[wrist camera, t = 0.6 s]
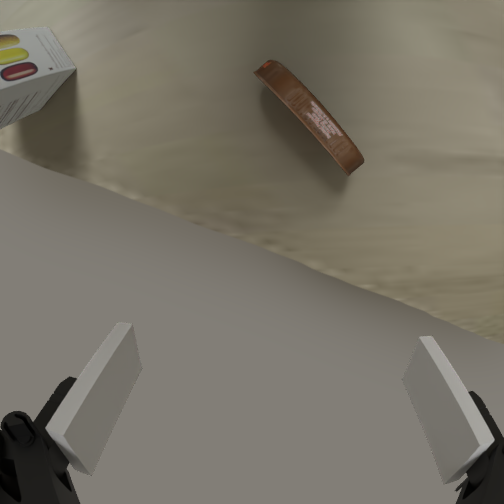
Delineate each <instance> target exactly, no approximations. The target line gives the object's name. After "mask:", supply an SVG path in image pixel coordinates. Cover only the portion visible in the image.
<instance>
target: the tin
mask: <svg viewBox="0 0 504 504" xmlns="http://www.w3.org/2000/svg"><path fill="white" fill-rule="evenodd" d="M253 73H254V74H255V75H256V76H257V77H258V78H259V79H260V80H261V81H262V82H263V83H264V84H265V85H266V86H267V87H268V88H269V89H270V90H271V91H272V92H273V93H274V94H275V95H276V96H277V97H278V98H279V99H280V100H281V101H282V102H283V103H284V104H285V105H286V106H287V107H288V108H289V109H290V110H291V112H292V113H293V114H294V115H295V116H296V117H297V118H298V119H299V120H300V121H301V122H302V123H303V124H304V125H305V126H306V128H307V129H308V130H309V131H310V132H311V133H312V134H313V135H314V136H315V138H316V139H317V140H318V141H319V142H320V143H321V144H322V146H323V147H324V148H325V149H326V150H327V151H328V153H329V154H330V155H331V156H332V157H333V158H334V160H335V161H336V162H337V163H338V164H339V166H340V167H341V168H342V169H343V170H344V171H345V173H346V174H347V175H348V176H350V174H351V173H352V172H353V171H354V170H356V169H357V168H358V167H359V166H361V165H362V164H363V163H364V158H363V156H362V154H361V153H360V151H359V150H358V149H357V147H356V146H355V144H354V143H353V142H352V140H351V139H350V138H349V137H348V135H347V134H346V133H345V132H344V130H343V129H342V128H341V127H340V125H339V124H338V123H337V122H336V120H335V119H334V118H333V117H332V116H331V114H330V113H329V112H328V111H327V110H326V109H325V108H324V106H323V105H322V104H321V103H320V102H319V101H318V100H317V99H316V98H315V97H314V95H313V94H312V93H311V92H310V91H309V90H308V89H307V88H306V87H305V86H304V85H303V84H302V83H301V82H300V81H299V80H298V79H297V78H296V77H295V76H294V75H293V74H292V73H291V72H290V71H289V70H288V69H286V68H285V67H284V66H283V65H282V64H280V63H279V62H277V61H274V60H269V61H267V62H266V63H265V64H264V65H263V66H261V67H260V68H259V69H258V70H257V71H254V72H253Z"/></svg>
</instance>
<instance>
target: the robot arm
mask: <svg viewBox="0 0 504 504" xmlns="http://www.w3.org/2000/svg"><path fill="white" fill-rule="evenodd" d="M141 370H142V366H141V362H140V357H139V353H138V348H137V344H136V339H135V334H134V328H133V325H132V324H129V323H122V322H117V324H116V325H115V327H114V328H113V329H112V331H111V332H110V334H109V335H108V336H107V337H106V339H105V340H104V342H103V343H102V344H101V346H100V347H99V349H98V350H97V351H96V353H95V354H94V356H93V357H92V358H91V360H90V361H89V363H88V364H87V366H86V367H85V368H84V370H83V371H82V373H81V374H80V376H79V377H78V379H77V378H73V377H68V378H67V379H65V380H64V381H63V382H61V383H60V384H59V386H58V387H57V388H56V390H55V391H54V394H52V395H51V397H50V399H49V401H47V403H46V404H45V406H44V407H43V409H42V410H41V412H40V413H39V414H38V416H37V417H36V419H35V420H34V422H32V420H31V419H30V417H29V416H28V415H27V414H26V413H24V412H21V411H14V412H11V413H9V414H7V415H6V416H5V417H4V418H3V420H2V422H1V429H2V430H0V504H80V502H79V499H78V497H77V494H76V491H75V489H74V486H73V484H72V480H71V477H70V475H69V472H68V470H67V466H68V464H69V463H70V464H71V465H72V466H73V468H74V469H75V470H77V471H80V472H82V473H85V474H87V475H90V476H92V474H93V472H94V470H95V467H96V465H97V463H98V461H99V459H100V456H101V454H102V452H103V450H104V447H105V445H106V443H107V441H108V438H109V436H110V435H111V432H112V430H113V428H114V426H115V424H116V422H117V420H118V417H119V415H120V413H121V411H122V409H123V407H124V405H125V403H126V401H127V399H128V397H129V394H130V392H131V390H132V388H133V386H134V384H135V382H136V380H137V378H138V376H139V374H140V372H141ZM402 381H403V383H404V385H405V388H406V390H407V392H408V395H409V397H410V399H411V401H412V404H413V406H414V408H415V411H416V413H417V416H418V418H419V420H420V423H421V425H422V428H423V430H424V433H425V435H426V438H427V440H428V443H429V446H430V448H431V451H432V454H433V456H434V459H435V461H436V464H437V467H438V470H439V473H440V476H441V479H442V481H443V484H447V483H450V482H453V481H456V480H458V479H460V478H461V477H462V476H463V475H464V474H465V473H467V476H468V478H466V479H465V481H463V482H462V483H461V484H460V485H459V486H458V487H457V488H456V490H455V491H458V490H459V489H460V488H461V487H462V489H461V492H460V495H459V497H458V499H457V502H456V504H504V437H503V436H502V434H501V432H500V430H499V429H498V427H497V425H496V423H495V421H494V420H493V418H492V416H491V415H490V414H489V411H488V409H487V408H486V406H485V404H484V403H483V401H482V399H481V398H480V397H479V396H478V395H477V394H476V393H475V392H473V391H470V392H468V391H467V390H466V388H465V386H464V385H463V383H462V382H461V380H460V378H459V377H458V375H457V373H456V372H455V370H454V369H453V367H452V365H451V364H450V362H449V361H448V359H447V358H446V356H445V355H444V353H443V352H442V351H441V349H440V347H439V346H438V344H437V343H436V342H435V340H434V338H433V337H432V336H424V337H423V336H422V337H419V338H418V341H417V344H416V346H415V349H414V351H413V354H412V357H411V359H410V361H409V364H408V366H407V369H406V371H405V373H404V376H403V378H402Z"/></svg>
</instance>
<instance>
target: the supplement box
mask: <svg viewBox="0 0 504 504" xmlns="http://www.w3.org/2000/svg"><path fill="white" fill-rule="evenodd" d="M75 70H76V67H75V66H74V65H73V63H72V62H71V60H70V59H69V57H68V56H67V54H66V53H65V51H64V50H63V48H62V47H61V45H60V44H59V42H58V41H57V39H56V38H55V36H54V35H53V33H52V32H51V30H50V29H49V28H48V27H37V28H26V29H17V30H9V31H3V32H0V129H2V128H4V127H6V126H8V125H10V124H12V123H13V122H15V121H17V120H20V119H22V118H24V117H26V116H28V115H30V114H32V113H35V112H37V111H39V110H41V108H42V107H43V106H44V105H45V103H46V102H47V101H48V100H49V99H50V97H51V96H52V95H53V94H54V93H55V92H56V90H57V89H58V88H59V87H60V86H61V85H62V84H63V83H64V81H65V80H66V79H67V78H68V77H69V76H70V75H71V74H72V73H73V72H74V71H75Z"/></svg>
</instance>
